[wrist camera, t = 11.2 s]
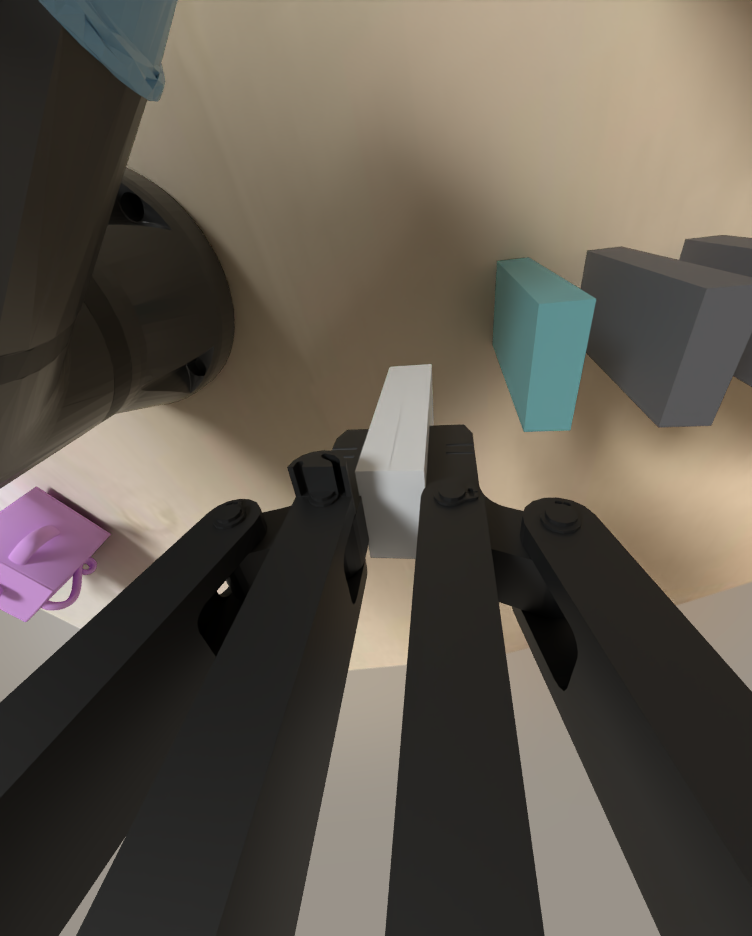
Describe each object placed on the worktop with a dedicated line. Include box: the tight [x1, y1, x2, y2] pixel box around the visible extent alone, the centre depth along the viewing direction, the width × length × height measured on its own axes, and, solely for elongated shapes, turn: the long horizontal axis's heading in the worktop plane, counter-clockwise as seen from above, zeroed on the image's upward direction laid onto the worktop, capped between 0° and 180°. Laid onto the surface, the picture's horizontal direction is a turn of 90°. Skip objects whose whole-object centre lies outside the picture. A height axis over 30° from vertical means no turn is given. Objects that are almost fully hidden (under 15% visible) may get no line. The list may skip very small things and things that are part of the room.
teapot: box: [0, 487, 111, 622], centre depth 40 cm, size 18×14×10 cm
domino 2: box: [581, 247, 752, 427], centre depth 18 cm, size 2×5×12 cm, turn 7°
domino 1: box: [492, 257, 596, 432], centre depth 19 cm, size 2×5×12 cm, turn 7°
